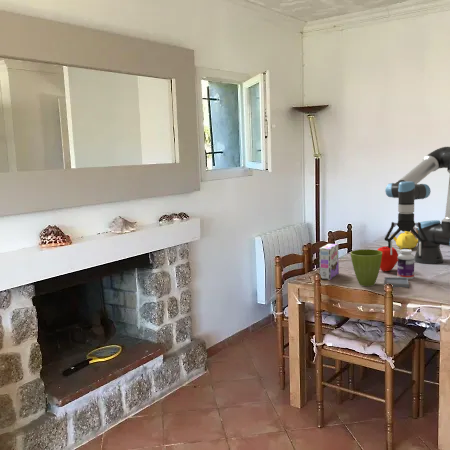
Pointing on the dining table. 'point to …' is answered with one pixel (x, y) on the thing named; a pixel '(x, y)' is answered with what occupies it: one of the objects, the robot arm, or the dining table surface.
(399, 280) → the socket plate
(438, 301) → the dining table surface
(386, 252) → the apple
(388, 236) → the robot arm
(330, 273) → the candy box
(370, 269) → the flower pot
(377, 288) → the dining table surface
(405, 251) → the pill bottle
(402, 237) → the teapot
